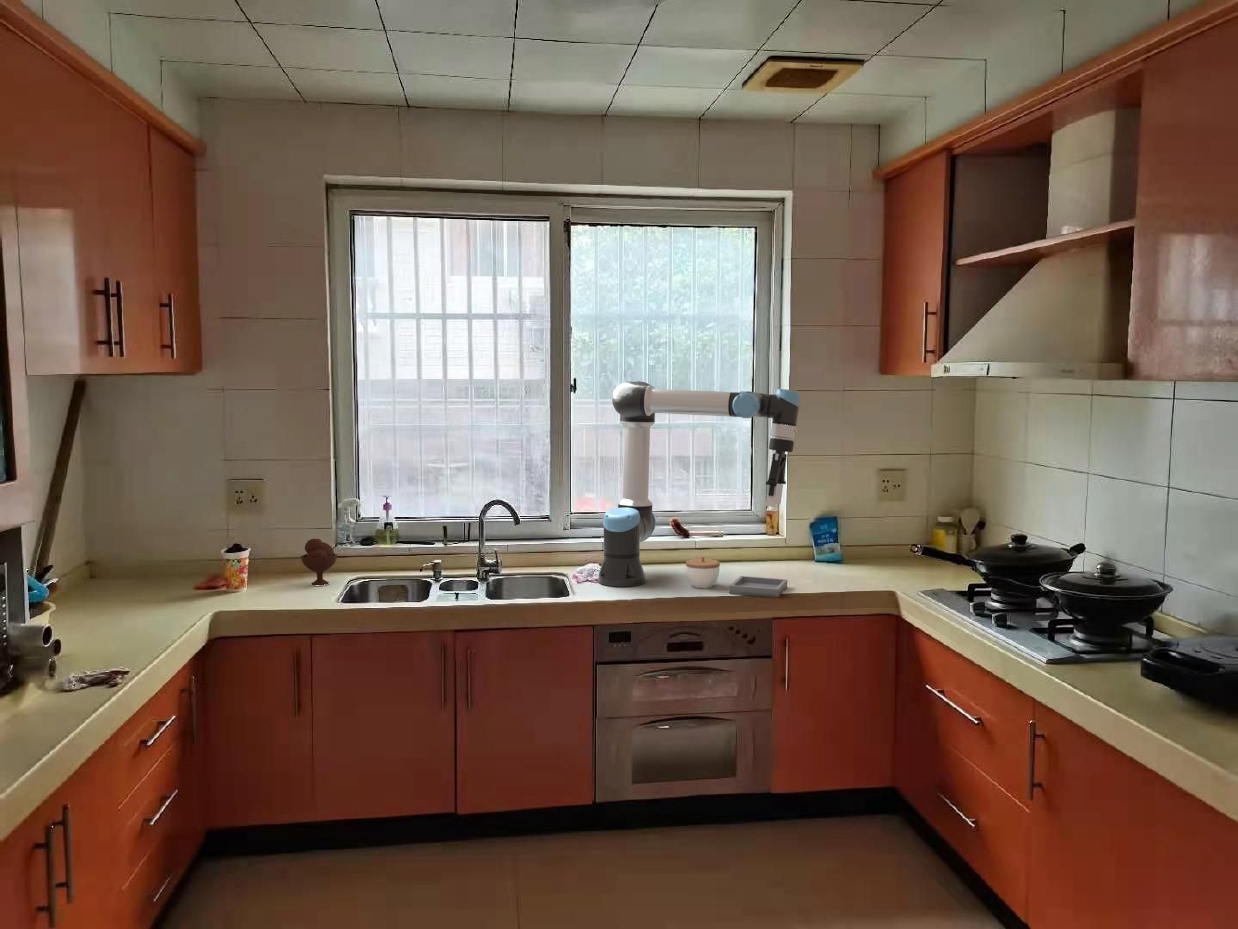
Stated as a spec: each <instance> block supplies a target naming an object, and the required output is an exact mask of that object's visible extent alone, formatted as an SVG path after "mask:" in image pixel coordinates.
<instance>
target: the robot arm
mask: <svg viewBox="0 0 1238 929" xmlns="http://www.w3.org/2000/svg"><path fill="white" fill-rule="evenodd" d="M611 396H612V397H611V401H612V406H613V408H614V410H615V412H617V414H618V415H620V416H619V423H620V424H621V425H622V426H623V427H624V428H623V429H624V437H623V464H622V465H623V472H622V473H623V474H622V475H623V476H622V478H623V479H622V498H621V499H620V500H619V501H618V503H617V508H616V507H615V508H612V509H611V508H610V509H609V510H607V511H606V512H605V513H604V514H603V523H602V526H603V560H602V563H601V566H600V569H599V572H598V576H597V577H598V581H597V582H598V583H599V584H600V585H604V586H608V587H609V586H610V587H622V588H623V587H626V588H627V587H636V586H640V585H644V584H645V582H646V574H645V571H644V568H643V565H642V562H641V557H640V552H641V551H640V550H641V549H640V548H641V547H640V546H641V542H644V541H646V540H648V538H650V537H651V535H652V534H653V533H654V531H655V528H656V517H655V515H654V513H653V502H652V501H651V500H649V484H650V483H649V478H650V477H649V476H650V449H651V448H650V447H651V445H650V443H651V442H650V441H651V427H652V426H653V425H654V424H655V422H656V414H666V415H667V414H668V415H689V416H690V415H691V416H711V417H712V416H714V417H732V418H742V419H750V418H753V417H759V418H766V419H767V418H768V419H772V423H771V427H770V428H771V429H770V436H771V437H770V438H769V444H768V450H771V451H775V452H773V454H772V458H771V459H772V460H771V465H770V470H769V474H768V479H767V481H765V485H767V491H766V498H765V499H766V500H765V507H771V508H775V505H782V504H781V503H782V497H783V488H784V485H786V484H787V481H786V479H785V477H786V464H787V456H788V455H787V454H786V453H793V451H794V445H795V441H794V439H795V434H797V433H798V429H796V428H797V421H798V416H799V408H800V399H801V398H800V397H801V394H800V392H799V391H798V390H793V389H792V390H791V389H783V388H777V389H776V392H775V393H773V394H768V393H762V392H755V391H749V390H748V391H745V390H744V391H742V390H740V391H739V392H738V391H737V392H736V391H734V392H733V391H731V392H730V391H711V390H710V391H709V390H687V389H684V390H683V389H665V388H664V389H663V388H662V389H661V388H655V387H654V386H653V385H652V384H650V383H648V382H645V381H640V380H638V381H625V382H622V383H620V384H619V385H617V387H616V388H615V389H614V391H613V393H612V395H611Z"/></svg>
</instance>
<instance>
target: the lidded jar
mask: <svg viewBox="0 0 1238 929" xmlns="http://www.w3.org/2000/svg"><path fill="white" fill-rule="evenodd" d="M685 566H686V567H685V570H686V575H687V579H688V581H689V582H690V584H692V587H694V588H696V589H697V588H699V589H710V588H712V587H713V586H714V585H715V583H716V582H717V581H718V578H719V575H720V567H721V563H720V561H719V560H716V559H713V558H712V559H711V558H705V556H701V558H693V559H692V558H691V559H688V560H686V561H685Z"/></svg>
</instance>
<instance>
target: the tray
mask: <svg viewBox="0 0 1238 929" xmlns="http://www.w3.org/2000/svg"><path fill="white" fill-rule="evenodd" d="M787 588H788V578H787V579H786V578H785V579H783V578H773V577H761V576H760V577H759V576H745V575H739V577H738V578H737V579H735V580H734V581H733V582H732V583H730V584H729V587H728V593H730V594H729V595H741V596H754V597H763V598H765V597H766V598H774V599H775V598H777V599H778V598H779V597H781V595H782V594H783V593H784V592H783V591H786V590H787ZM782 592H783V593H782Z"/></svg>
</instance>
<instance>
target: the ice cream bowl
mask: <svg viewBox="0 0 1238 929" xmlns="http://www.w3.org/2000/svg"><path fill="white" fill-rule="evenodd" d="M304 551H305V552H306V553H304V554H303V555H301V556H300V559H301V563H302V564H303V565H304V567H306V568H307V569H309V570H310V571H312V572H313V573H315V574H316V579H315V580H314V581H312V582H311V584H312V585H324V584H328V583H329V584H330V582H329V581H327V580H326V579H323V578H324V576H323V575H324V572H326V571H328V570H329V569H330V568H332V567H333V566H334V565H335V563H336V562H337V559H338V553H335V552H334V548H333V547H332V545H330V544H329V543H326V542H325V541H322V540H321V539H320V538H311V539H309V540H307V541H306V543H305V545H304ZM311 584H310V585H311ZM329 584H328V585H329ZM312 585H311V586H312Z"/></svg>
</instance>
